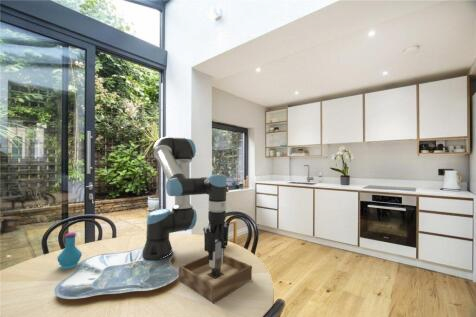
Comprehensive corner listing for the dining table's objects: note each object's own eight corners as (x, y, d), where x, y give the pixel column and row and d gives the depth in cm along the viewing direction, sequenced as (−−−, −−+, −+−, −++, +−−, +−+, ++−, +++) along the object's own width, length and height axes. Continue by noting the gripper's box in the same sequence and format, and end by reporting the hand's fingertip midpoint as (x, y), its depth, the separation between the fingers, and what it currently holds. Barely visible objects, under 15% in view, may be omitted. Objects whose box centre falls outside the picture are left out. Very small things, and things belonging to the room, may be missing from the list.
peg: (209, 274, 94) (210, 241, 94) (216, 270, 97) (216, 238, 97) (215, 277, 91) (216, 243, 91) (222, 273, 94) (223, 241, 94)
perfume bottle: (83, 265, 104) (84, 233, 105) (58, 272, 98) (60, 238, 98) (78, 259, 111) (80, 229, 111) (55, 265, 104) (56, 233, 104)
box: (178, 280, 93) (179, 266, 93) (216, 263, 110) (217, 251, 110) (213, 303, 79) (214, 286, 79) (251, 279, 95) (251, 265, 95)
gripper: (207, 215, 86) (206, 275, 85) (236, 208, 98) (235, 261, 98) (196, 212, 91) (194, 269, 90) (225, 206, 103) (223, 256, 103)
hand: (216, 265), depth 94 cm, fingers closed on peg, 4 cm apart
